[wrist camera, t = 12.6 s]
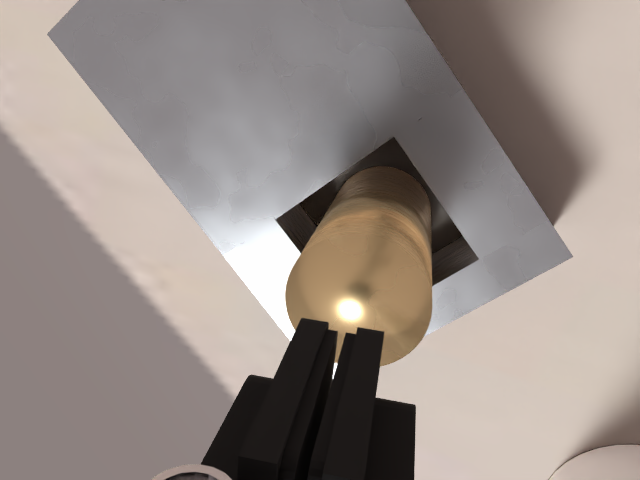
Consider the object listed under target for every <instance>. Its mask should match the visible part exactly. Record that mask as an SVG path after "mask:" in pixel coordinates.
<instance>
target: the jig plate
mask: <svg viewBox="0 0 640 480" xmlns="http://www.w3.org/2000/svg"><path fill="white" fill-rule="evenodd" d="M47 35H48V36H49V37H50V39H51V40H52V41H53V42H54V44H55V45H56V46H57V47H58V49H59V50H60V51H61V52H62V54H63V55H64V56H65V57H66V59H67V60H68V61H69V62H70V64H71V65H72V66H73V67H74V69H75V70H76V71H77V73H78V74H79V75H80V76H81V78H82V79H83V80H84V81H85V83H86V84H87V85H88V86H89V88H90V89H91V90H92V91H93V93H94V94H95V95H96V96H97V98H98V99H99V100H100V101H101V103H102V104H103V105H104V106H105V108H106V109H107V110H108V112H109V113H110V114H111V115H112V117H113V118H114V119H115V120H116V122H117V123H118V124H119V125H120V127H121V128H122V129H123V130H124V132H125V133H126V134H127V135H128V137H129V138H130V139H131V140H132V142H133V143H134V144H135V145H136V147H137V148H138V149H139V151H140V152H141V153H142V154H143V156H144V157H145V158H146V159H147V161H148V162H149V163H150V164H151V166H152V167H153V168H154V169H155V171H156V172H157V173H158V174H159V176H160V177H161V178H162V179H163V181H164V182H165V183H166V185H167V186H168V187H169V188H170V190H171V191H172V192H173V193H174V195H175V196H176V197H177V198H178V200H179V201H180V202H181V203H182V205H183V206H184V207H185V208H186V210H187V211H188V212H189V213H190V215H191V216H192V217H193V218H194V220H195V221H196V222H197V224H198V225H199V226H200V227H201V229H202V230H203V231H204V232H205V234H206V235H207V236H208V237H209V239H210V240H211V241H212V242H213V244H214V245H215V246H216V247H217V249H218V250H219V251H220V252H221V254H222V255H223V256H224V257H225V259H226V260H227V261H228V263H229V264H230V265H231V266H232V268H233V269H234V270H235V271H236V273H237V274H238V275H239V276H240V278H241V279H242V280H243V281H244V283H245V284H246V285H247V286H248V288H249V289H250V290H251V291H252V293H253V294H254V295H255V297H256V298H257V299H258V300H259V302H260V303H261V304H262V305H263V307H264V308H265V309H266V310H267V312H268V313H269V314H270V315H271V317H272V318H273V319H274V320H275V322H276V323H277V324H278V325H279V327H280V328H281V329H282V330H283V332H284V333H285V334H286V336H287V337H288V338H289V339H290V341H291V339H292V337H293V335H294V333H295V330H294V328H293V327H292V325H291V322H290V320H289V318H288V314H287V311H286V305H285V289H286V283H287V279H288V276H289V274H290V271H291V269H292V267H293V266H294V264H295V262H296V261H297V259H298V258H299V256H300V254H301V253H302V251H303V249H304V248H305V246H306V245H307V243H308V241H309V240H310V238H311V236H312V235H313V233H314V231H315V230H316V228H317V227H316V225H315V224H314V223H313V221H312V220H311V219H310V217H309V216H308V215H307V213H306V212H305V211H304V209H303V208H302V207H301V205H300V204H299V203H300V202H301V201H303V200H304V199H305V198H307V197H308V196H310V195H311V194H313V193H314V192H316V191H317V190H318V189H320V188H321V187H323V186H324V185H326V184H327V183H328V182H330V181H331V180H333V179H334V178H336V177H337V176H338V175H340V174H341V173H343V172H344V171H346V170H347V169H348V168H350V167H351V166H353V165H354V164H356V163H357V162H358V161H360V160H361V159H363V158H364V157H366V156H367V155H368V154H370V153H371V152H373V151H374V150H376V149H377V148H379V147H380V146H381V145H383V144H384V143H386V142H387V141H389V140H390V139H391V138H393V137H395V138H396V140H397V141H398V143H399V144H400V146H401V147H402V149H403V150H404V151H405V153H406V154H407V156H408V157H409V159H410V160H411V162H412V163H413V164H414V166H415V167H416V169H417V170H418V172H419V173H420V175H421V176H422V177H423V179H424V180H425V182H426V183H427V185H428V186H429V188H430V189H431V190H432V192H433V193H434V195H435V196H436V198H437V199H438V201H439V202H440V203H441V205H442V206H443V208H444V209H445V211H446V212H447V214H448V215H449V216H450V218H451V219H452V221H453V222H454V224H455V225H456V227H457V228H458V229H459V231H460V232H461V234H462V235H463V236H462V237H461V238H459V239H457V240H456V241H454V242H452V243H451V244H449V245H447V246H446V247H444V248H442V249H441V250H439V251H437V252H435V253H434V254H432V316H431V320H430V324H429V327H428V329H427V331H426V334H425V335H424V336H426V335H428V334H430V333H432V332H434V331H435V330H437V329H439V328H441V327H443V326H445V325H447V324H448V323H450V322H452V321H454V320H456V319H458V318H460V317H462V316H463V315H465V314H467V313H469V312H471V311H473V310H475V309H477V308H478V307H480V306H482V305H484V304H486V303H488V302H490V301H491V300H493V299H495V298H497V297H499V296H501V295H503V294H505V293H506V292H508V291H510V290H512V289H514V288H516V287H518V286H520V285H521V284H523V283H525V282H527V281H529V280H531V279H533V278H534V277H536V276H538V275H540V274H542V273H544V272H546V271H548V270H549V269H551V268H553V267H555V266H557V265H559V264H561V263H563V262H564V261H566V260H568V259H570V258H572V257H573V256H572V254H571V253H570V251H569V250H568V248H567V247H566V245H565V244H564V242H563V241H562V239H561V237H560V236H559V234H558V233H557V231H556V230H555V228H554V227H553V225H552V224H551V222H550V221H549V219H548V218H547V216H546V215H545V213H544V211H543V210H542V208H541V207H540V205H539V204H538V202H537V201H536V199H535V198H534V196H533V195H532V193H531V192H530V190H529V189H528V187H527V185H526V184H525V182H524V181H523V179H522V178H521V176H520V175H519V173H518V172H517V170H516V169H515V167H514V166H513V164H512V163H511V161H510V159H509V158H508V156H507V155H506V153H505V152H504V150H503V149H502V147H501V146H500V144H499V143H498V141H497V140H496V138H495V137H494V135H493V133H492V132H491V130H490V129H489V127H488V126H487V124H486V123H485V121H484V120H483V118H482V117H481V115H480V114H479V112H478V111H477V109H476V107H475V106H474V104H473V103H472V101H471V100H470V98H469V97H468V95H467V94H466V92H465V91H464V89H463V88H462V86H461V85H460V83H459V82H458V80H457V78H456V77H455V75H454V74H453V72H452V71H451V69H450V68H449V66H448V65H447V63H446V62H445V60H444V59H443V57H442V56H441V54H440V52H439V51H438V49H437V48H436V46H435V45H434V43H433V42H432V40H431V39H430V37H429V36H428V34H427V33H426V31H425V30H424V28H423V26H422V25H421V23H420V22H419V20H418V19H417V17H416V16H415V14H414V13H413V11H412V10H411V8H410V7H409V5H408V4H407V2H406V0H79V1H78V2H77V3H76V4H75V5H74V6H73V7H72V8H71V9H70V10H69V11H68V13H67V14H66V15H65V16H64V17H63V18H62V19H61V20H60V21H59V22H58V23H57V24H56V25H55V26H54V27H53V28H52V29H51V30H50V32H49V33H48V34H47ZM336 366H337V364H336V363H335V364H334V373H333V377H334V374H335V370H336Z"/></svg>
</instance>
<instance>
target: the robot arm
mask: <svg viewBox="0 0 640 480" xmlns="http://www.w3.org/2000/svg"><path fill="white" fill-rule="evenodd" d="M337 337H338V331H335V330H329V323H328V322H324V321H318V320H312V319H307V318H301V320H300V322H299V324H298V326H297V328H296V330H295V333H294V335H293V337H292V339H291V341H290V343H289V346H288V348H287V350H286V352H285V354H284V357H283V359H282V361H281V363H280V365H279V368H278V370H277V372H276V374H275V376H274V379H272V378H267V377H261V376H256V375H250V376H248V378H247V379H246V381H245V383H244V384H243V386H242V388H241V390H240V392H239V394H238V396H237V397H236V399H235V401H234V403H233V405H232V407H231V409H230V411H229V412H228V414H227V416H226V418H225V420H224V422H223V424H222V426H221V427H220V430H219V431H218V433H217V435H216V437H215V438H214V440H213V442H212V444H211V446H210V448H209V450H208V452H207V453H206V455H205V457H204V459H203V461H202V463H201V465H200V464H197V465H196V464H195V465H182V466H178V467H174V468H170V469H168V470H166V471H164V472H162V473H160V474H158V475H156V476H155V477H153V478H152V479H151V480H414V461H415V418H416V407H415V405H413V404H407V403H402V402H397V401H391V400H386V399H380V398H375V397H376V390H377V383H378V375H379V368H380V361H381V354H382V347H383V340H384V331H378V330H372V329H366V328H360V327H358V328H357V332H356V334H352V333H347V332H346V334H345V337H344V341H343V344H342V348H341V352H340V355H339V359H338V363H337V366H336V370H335V374H334V377H333V373H334V364H335V355H336V346H337Z"/></svg>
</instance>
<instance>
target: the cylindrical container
mask: <svg viewBox="0 0 640 480" xmlns="http://www.w3.org/2000/svg"><path fill="white" fill-rule="evenodd" d="M549 480H640V445H613V446H607V447H601V448H597V449H594V450H591V451H588V452H585V453H582V454H580V455H578V456H577V457H575V458H573V459H571V460H569V461H567V462H566V463H565V464H564V465H562V466H561V467H560V468H559V469H558V470H556V471H555V473H554V474H553V475H552V476H551V478H550V479H549Z"/></svg>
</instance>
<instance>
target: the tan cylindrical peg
mask: <svg viewBox="0 0 640 480" xmlns="http://www.w3.org/2000/svg"><path fill="white" fill-rule="evenodd" d="M285 305H286V311H287V314H288V318H289V320H290V322H291V325H292V327H293V328H294V330H296V328H297V326H298V324H299V322H300V320H301V318H307V319H312V320H318V321H324V322H328V323H329V330H335V331H338V337H337V346H336V355H335V363H336V364H337V363H338V359H339V355H340V352H341V348H342V344H343V341H344V337H345V334H346V332H347V333H352V334H356V332H357V328H358V327H360V328H366V329H372V330H378V331H384V340H383V347H382V354H381V361H380V366H384V365H387V364H390V363H393V362H395V361H397V360H399V359H401V358H403V357H404V356H406V355H407V354H409V353H410V352H411V351H412V350H413V349H414V348H415V347H416V346H417V345H418V344H419V343H420V341H421V340H422V338H423V337H424V335H425V334H426V331H427V329H428V327H429V324H430V320H431V316H432V239H431V206H430V201H429V199H428V196H427V194H426V192H425V190H424V188H423V187H422V186H421V184H420V183H419V182H418V181H417V180H416V179H415V178H414V177H412V176H411V175H409V174H408V173H406V172H404V171H402V170H399V169H396V168H393V167H385V166H378V167H371V168H367V169H364V170H362V171H360V172H358V173H356V174H355V175H353V176H352V177H350V178H349V179H348V180H347V181H346V182H345V184H344V185H343V186H342V188H341V189H340V191H339V192H338V194H337V196H336V197H335V199H334V200H333V202H332V204H331V205H330V207H329V209H328V210H327V212H326V214H325V215H324V217H323V218H322V220H321V222H320V223H319V225H318V227H317V228H316V230H315V231H314V233H313V235H312V236H311V238H310V240H309V241H308V243H307V245H306V246H305V248H304V249H303V251H302V253H301V254H300V256H299V258H298V259H297V261H296V262H295V264H294V266H293V267H292V269H291V271H290V274H289V276H288V279H287V283H286V289H285Z"/></svg>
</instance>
